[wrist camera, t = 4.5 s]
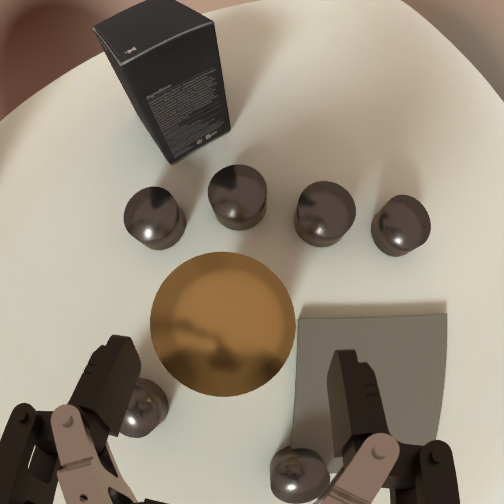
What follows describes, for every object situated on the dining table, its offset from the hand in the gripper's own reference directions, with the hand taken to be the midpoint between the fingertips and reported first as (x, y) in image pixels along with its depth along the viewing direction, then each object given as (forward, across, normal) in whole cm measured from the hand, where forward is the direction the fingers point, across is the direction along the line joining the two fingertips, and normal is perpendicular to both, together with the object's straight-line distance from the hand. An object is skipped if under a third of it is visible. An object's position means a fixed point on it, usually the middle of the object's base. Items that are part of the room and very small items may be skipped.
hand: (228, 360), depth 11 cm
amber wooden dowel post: (+6, 0, +4) cm, 7 cm away
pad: (+3, -9, +8) cm, 12 cm away
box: (+18, +6, -7) cm, 20 cm away
